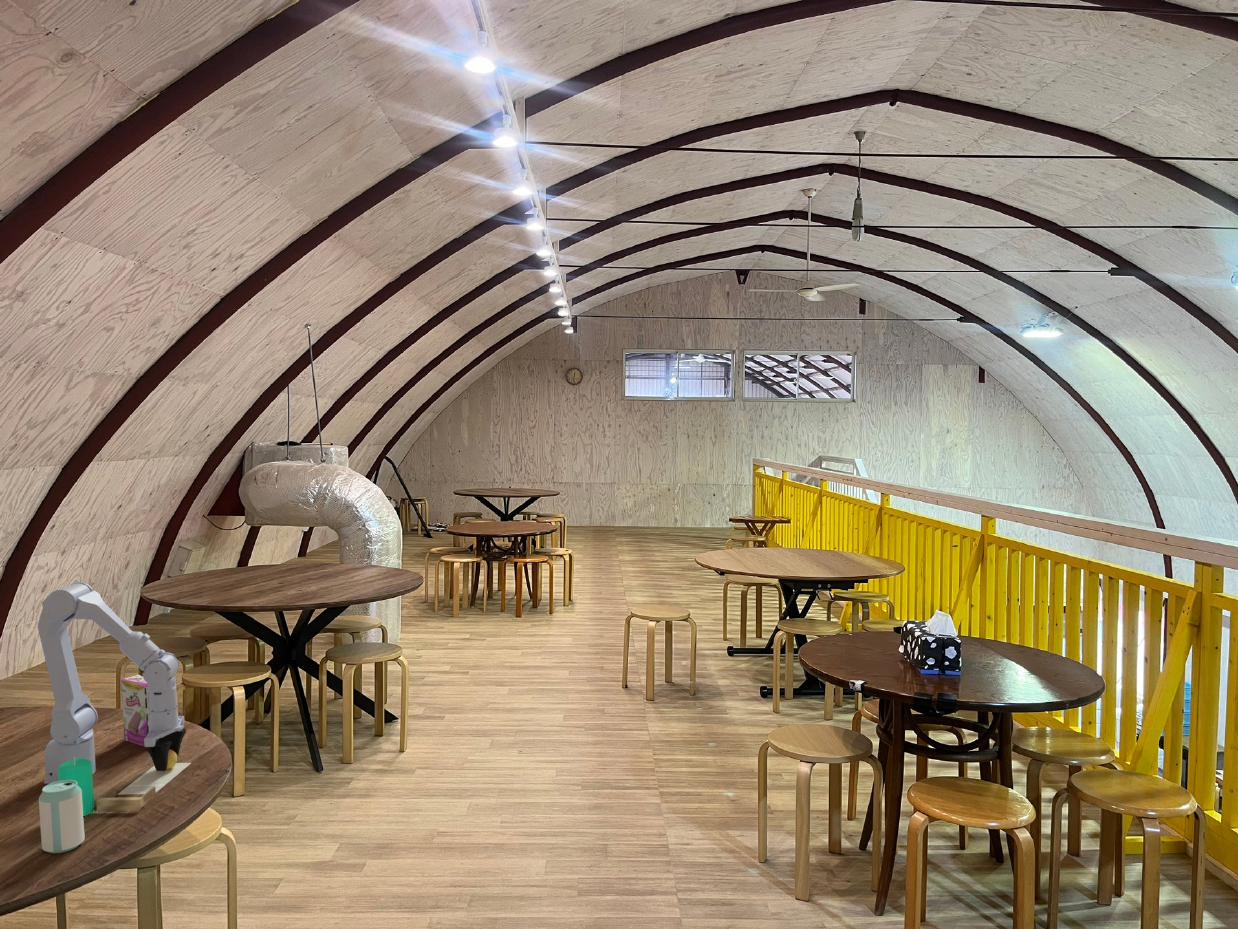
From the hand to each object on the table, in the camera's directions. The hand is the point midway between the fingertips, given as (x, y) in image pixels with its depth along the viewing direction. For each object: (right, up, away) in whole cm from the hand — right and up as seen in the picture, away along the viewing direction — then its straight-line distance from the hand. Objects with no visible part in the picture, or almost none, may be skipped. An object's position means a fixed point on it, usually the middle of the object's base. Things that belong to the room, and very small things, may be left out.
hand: (166, 766), depth 213 cm
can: (-3, -4, -35) cm, 35 cm away
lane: (0, -2, -8) cm, 8 cm away
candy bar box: (-14, -1, +18) cm, 23 cm away
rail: (0, -3, -17) cm, 17 cm away
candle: (-9, -3, -20) cm, 22 cm away
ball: (0, -1, 0) cm, 1 cm away
